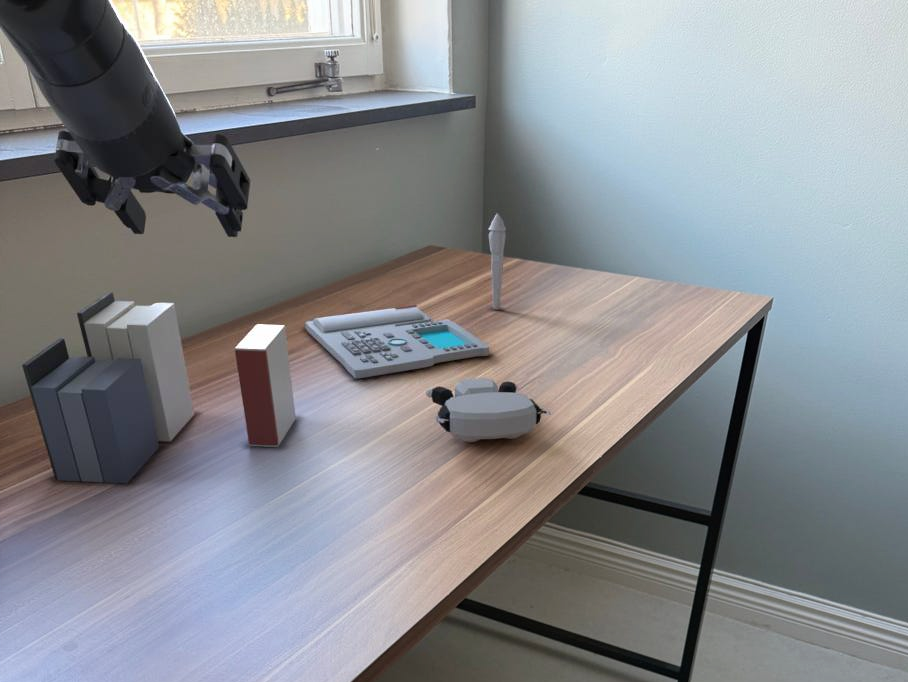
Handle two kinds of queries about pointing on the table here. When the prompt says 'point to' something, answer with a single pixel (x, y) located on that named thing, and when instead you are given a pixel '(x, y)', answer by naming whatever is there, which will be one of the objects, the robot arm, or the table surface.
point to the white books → (143, 354)
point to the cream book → (266, 384)
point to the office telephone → (393, 340)
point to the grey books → (91, 414)
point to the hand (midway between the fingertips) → (187, 226)
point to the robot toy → (485, 410)
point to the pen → (497, 257)
